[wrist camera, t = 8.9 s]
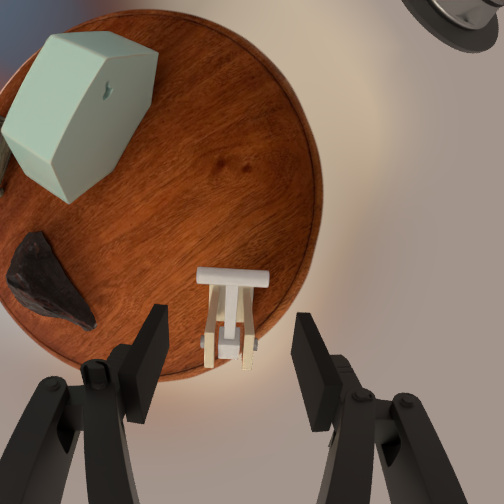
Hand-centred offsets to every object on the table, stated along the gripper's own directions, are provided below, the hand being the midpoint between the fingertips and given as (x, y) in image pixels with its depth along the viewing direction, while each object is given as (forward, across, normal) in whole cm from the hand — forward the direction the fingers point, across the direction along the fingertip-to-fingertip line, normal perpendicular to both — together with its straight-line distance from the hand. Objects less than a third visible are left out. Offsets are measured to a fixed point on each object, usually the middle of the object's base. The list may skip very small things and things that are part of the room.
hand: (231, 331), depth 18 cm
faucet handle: (+13, 0, -5) cm, 14 cm away
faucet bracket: (+26, 0, -9) cm, 28 cm away
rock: (+26, -26, -8) cm, 38 cm away
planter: (+26, -18, +15) cm, 35 cm away
